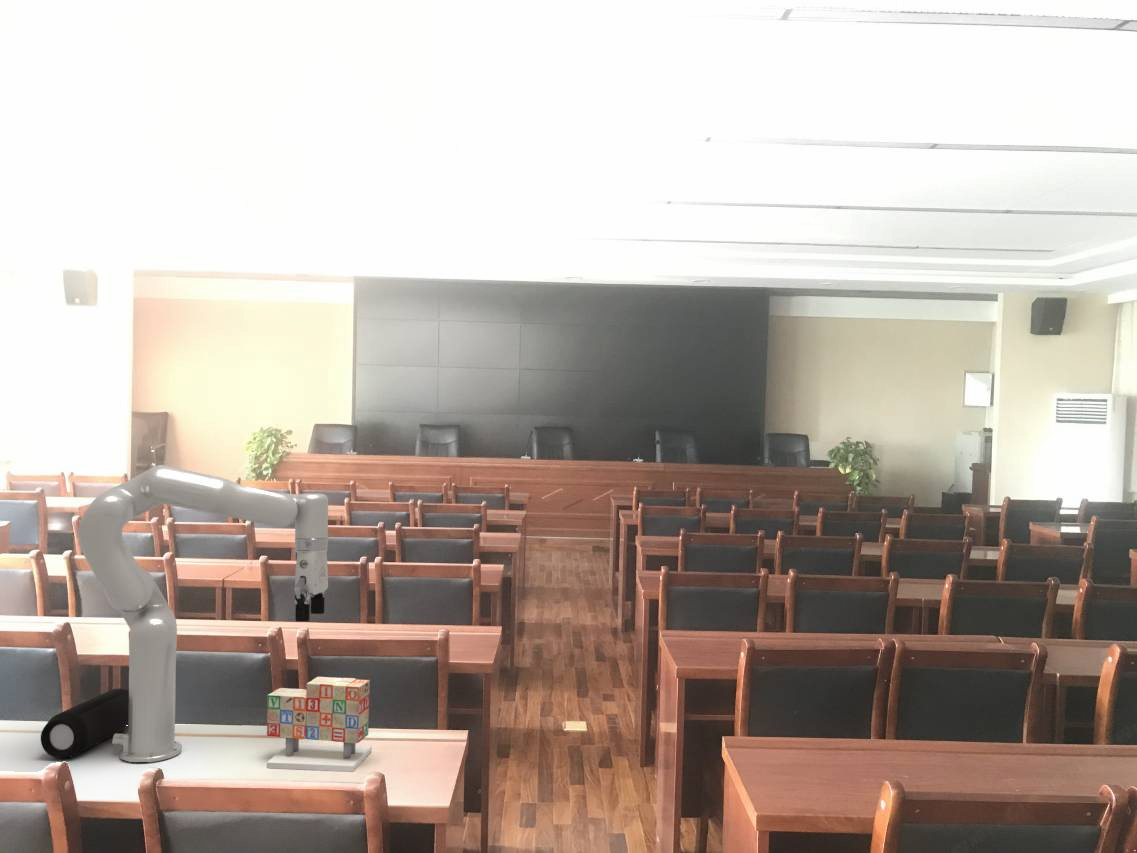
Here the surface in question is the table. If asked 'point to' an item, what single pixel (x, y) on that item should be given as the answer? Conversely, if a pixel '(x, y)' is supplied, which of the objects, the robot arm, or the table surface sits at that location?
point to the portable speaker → (86, 724)
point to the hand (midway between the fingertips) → (310, 617)
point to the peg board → (319, 756)
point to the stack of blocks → (321, 710)
